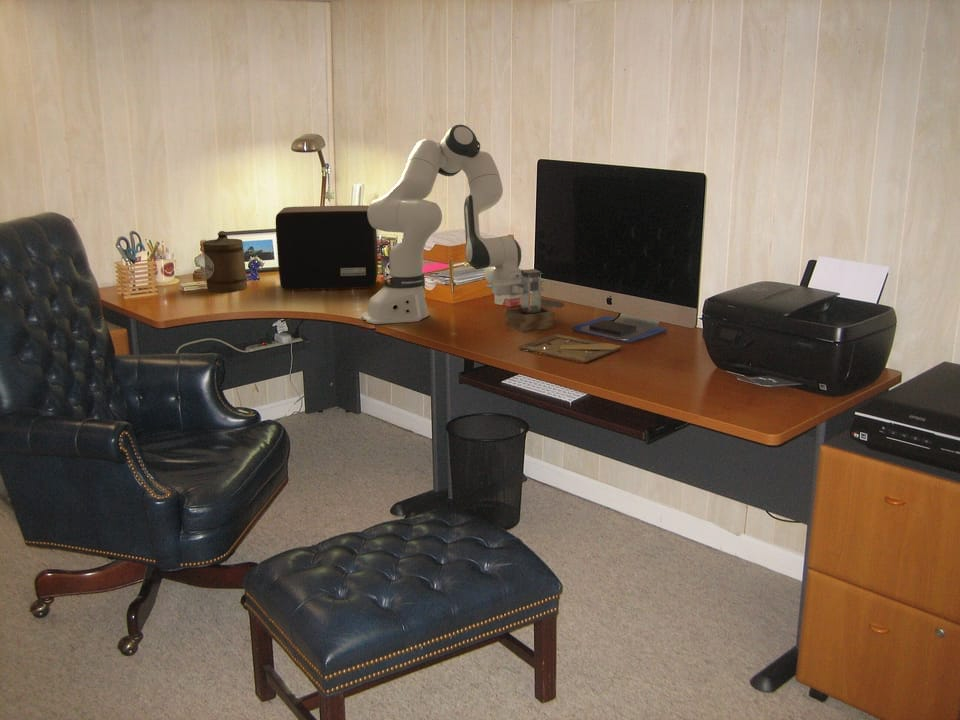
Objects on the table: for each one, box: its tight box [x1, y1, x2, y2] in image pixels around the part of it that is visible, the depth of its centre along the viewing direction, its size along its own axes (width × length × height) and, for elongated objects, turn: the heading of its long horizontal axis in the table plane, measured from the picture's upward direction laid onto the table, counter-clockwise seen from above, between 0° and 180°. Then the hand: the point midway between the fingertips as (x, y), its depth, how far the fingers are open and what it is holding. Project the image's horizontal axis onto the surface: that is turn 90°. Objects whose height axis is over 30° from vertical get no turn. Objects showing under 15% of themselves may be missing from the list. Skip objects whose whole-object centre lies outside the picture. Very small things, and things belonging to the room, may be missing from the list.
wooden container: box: [202, 230, 248, 293], centre depth 360 cm, size 15×15×22 cm
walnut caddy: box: [506, 306, 555, 332], centre depth 302 cm, size 11×11×5 cm
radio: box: [275, 204, 379, 291], centre depth 360 cm, size 36×18×30 cm, turn 94°
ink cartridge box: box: [494, 294, 521, 308], centre depth 330 cm, size 9×5×15 cm, turn 42°
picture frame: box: [518, 333, 623, 364], centre depth 276 cm, size 19×2×24 cm
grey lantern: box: [520, 268, 542, 313], centre depth 300 cm, size 5×5×13 cm
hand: (532, 290), depth 299 cm, fingers closed on grey lantern, 5 cm apart
